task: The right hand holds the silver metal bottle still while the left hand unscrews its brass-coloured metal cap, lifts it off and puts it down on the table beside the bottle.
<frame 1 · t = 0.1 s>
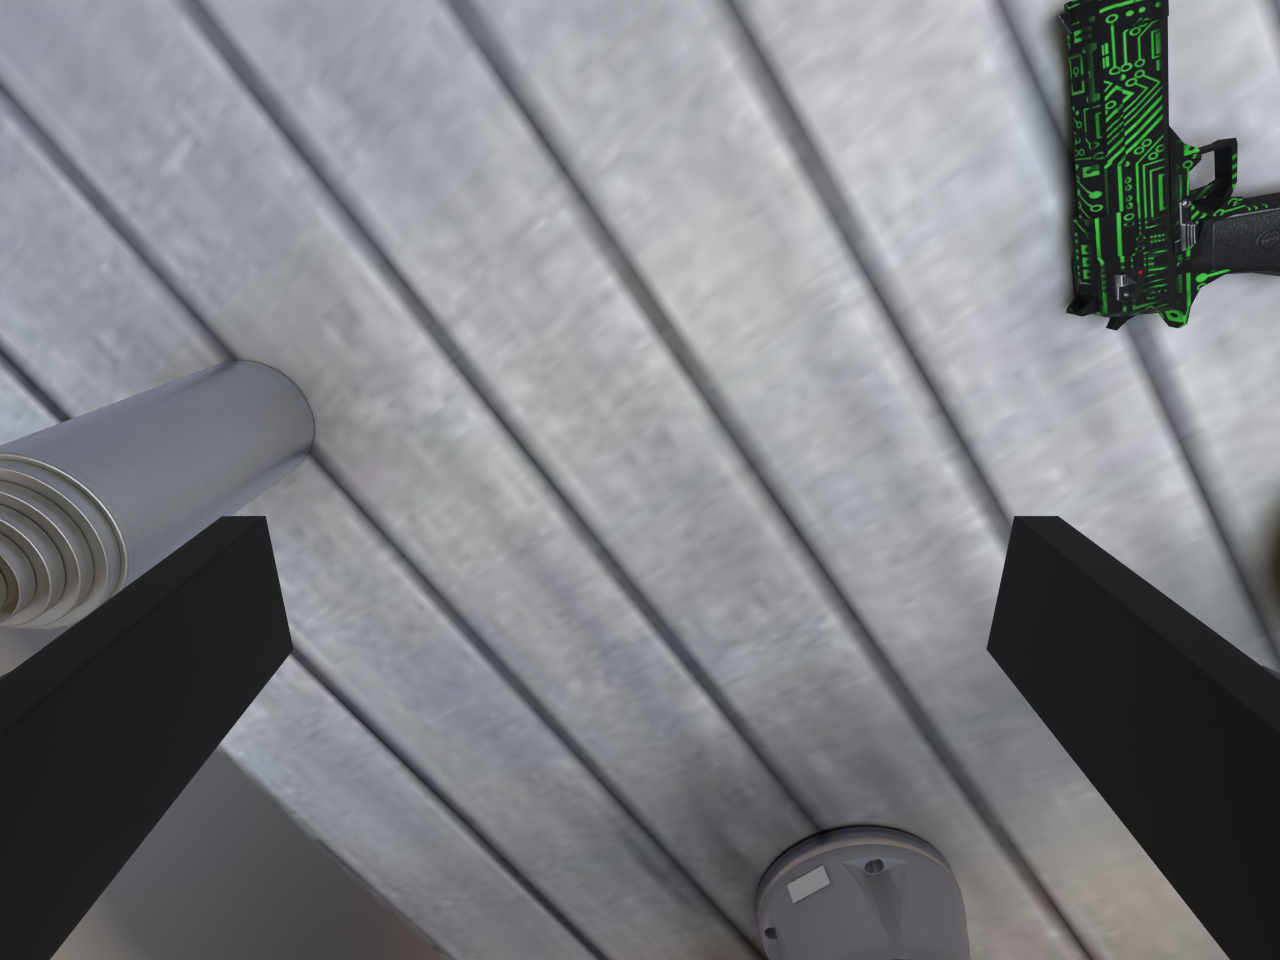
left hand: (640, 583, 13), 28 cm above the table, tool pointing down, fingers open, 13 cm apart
handgun: (1188, 160, 36), on the table
bottle: (253, 420, 41), on the table
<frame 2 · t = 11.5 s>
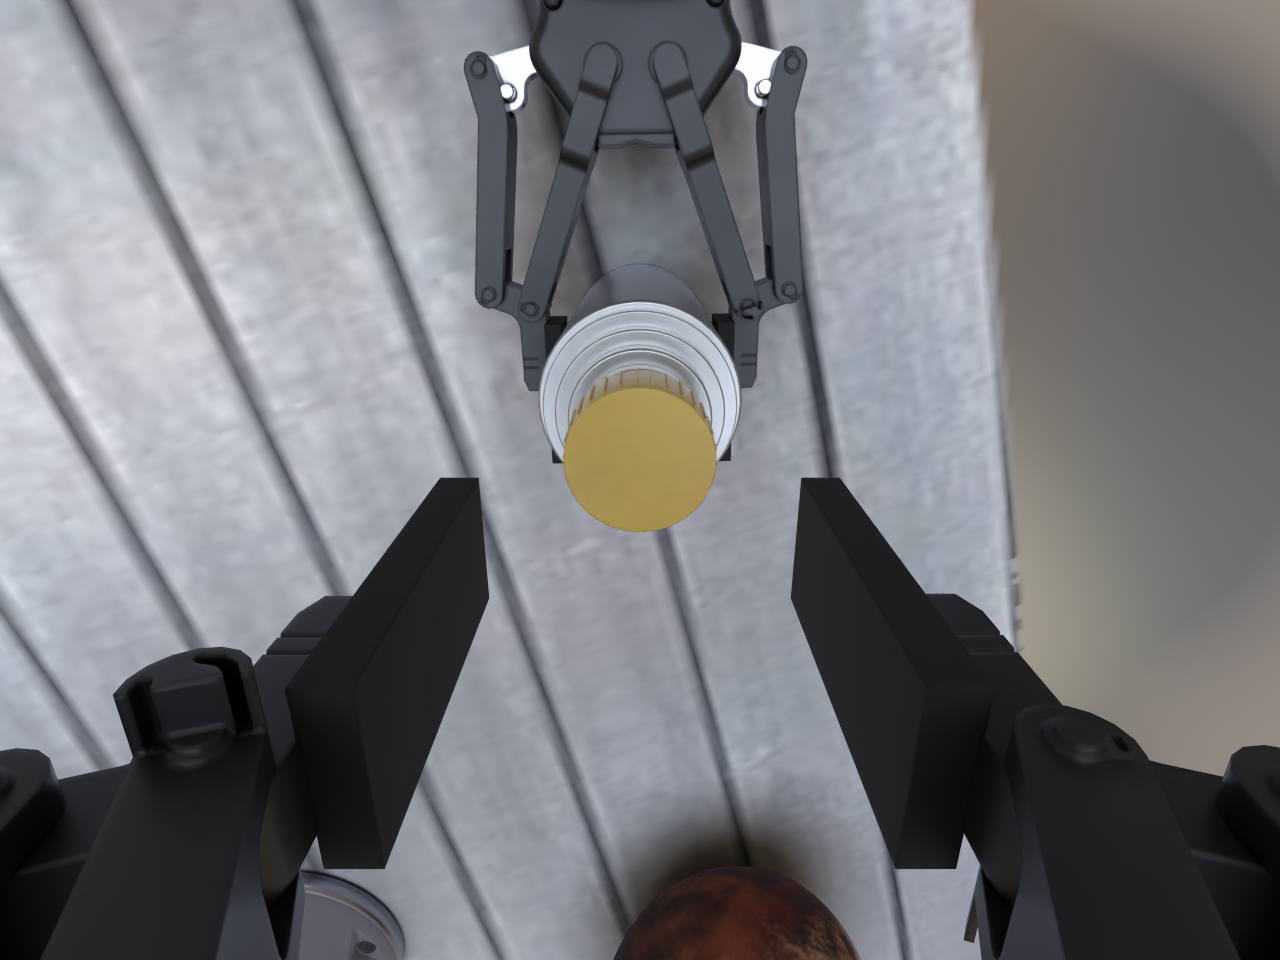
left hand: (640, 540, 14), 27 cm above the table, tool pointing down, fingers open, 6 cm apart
right hand: (641, 452, 35), fingers closed on bottle, 7 cm apart
bottle: (639, 329, 39), on the table, touching right hand
cap: (639, 459, 19), point 22 cm above the table, screwed on, not yet turned
cat face ball: (717, 907, 55), on the table
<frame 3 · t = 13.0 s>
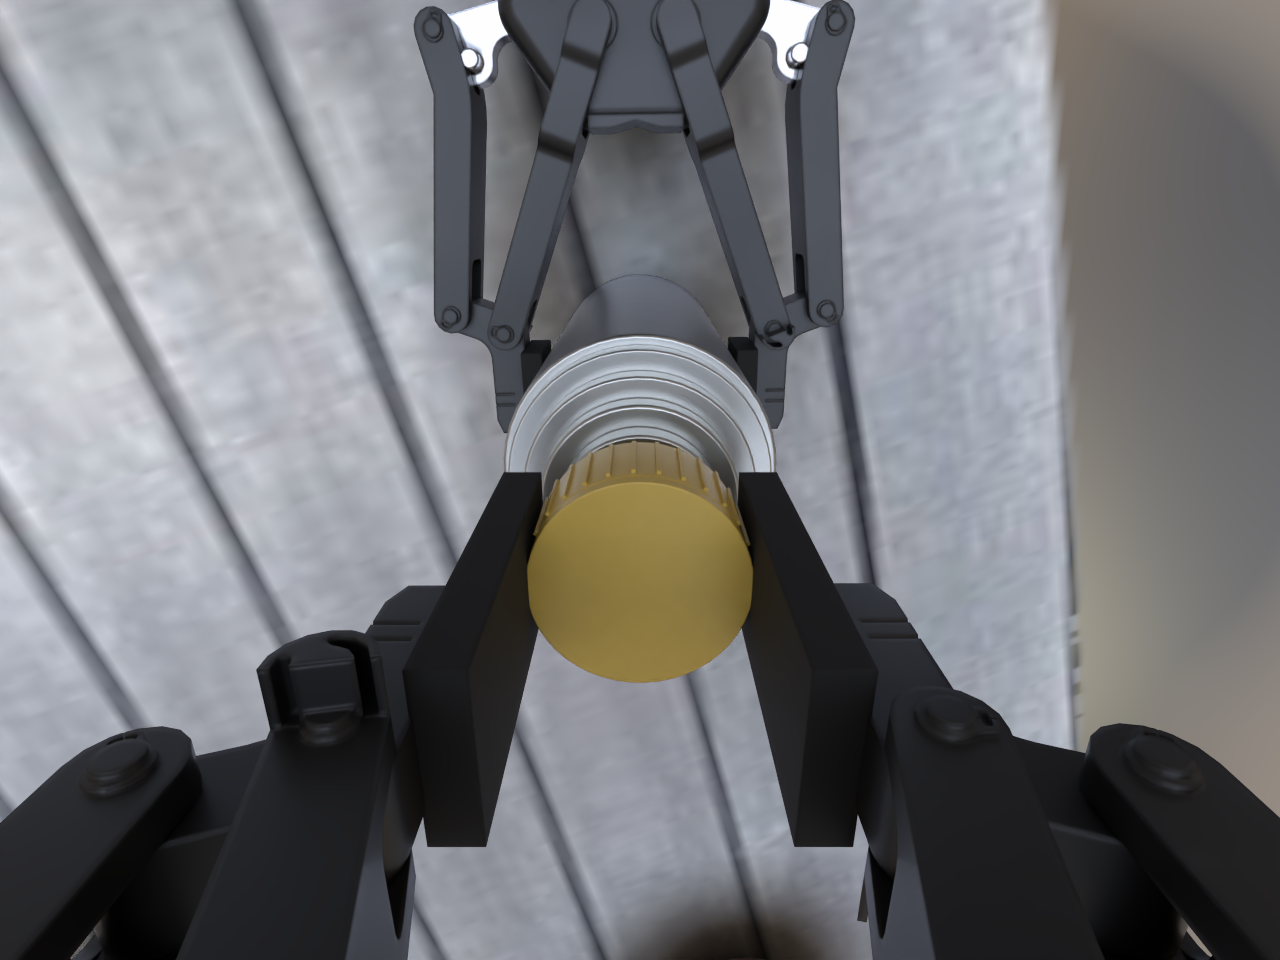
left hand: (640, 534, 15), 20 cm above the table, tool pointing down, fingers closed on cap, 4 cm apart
right hand: (641, 504, 29), fingers closed on bottle, 7 cm apart
bottle: (639, 351, 33), on the table, touching right hand
cap: (640, 580, 13), point 22 cm above the table, screwed on, not yet turned, touching left hand
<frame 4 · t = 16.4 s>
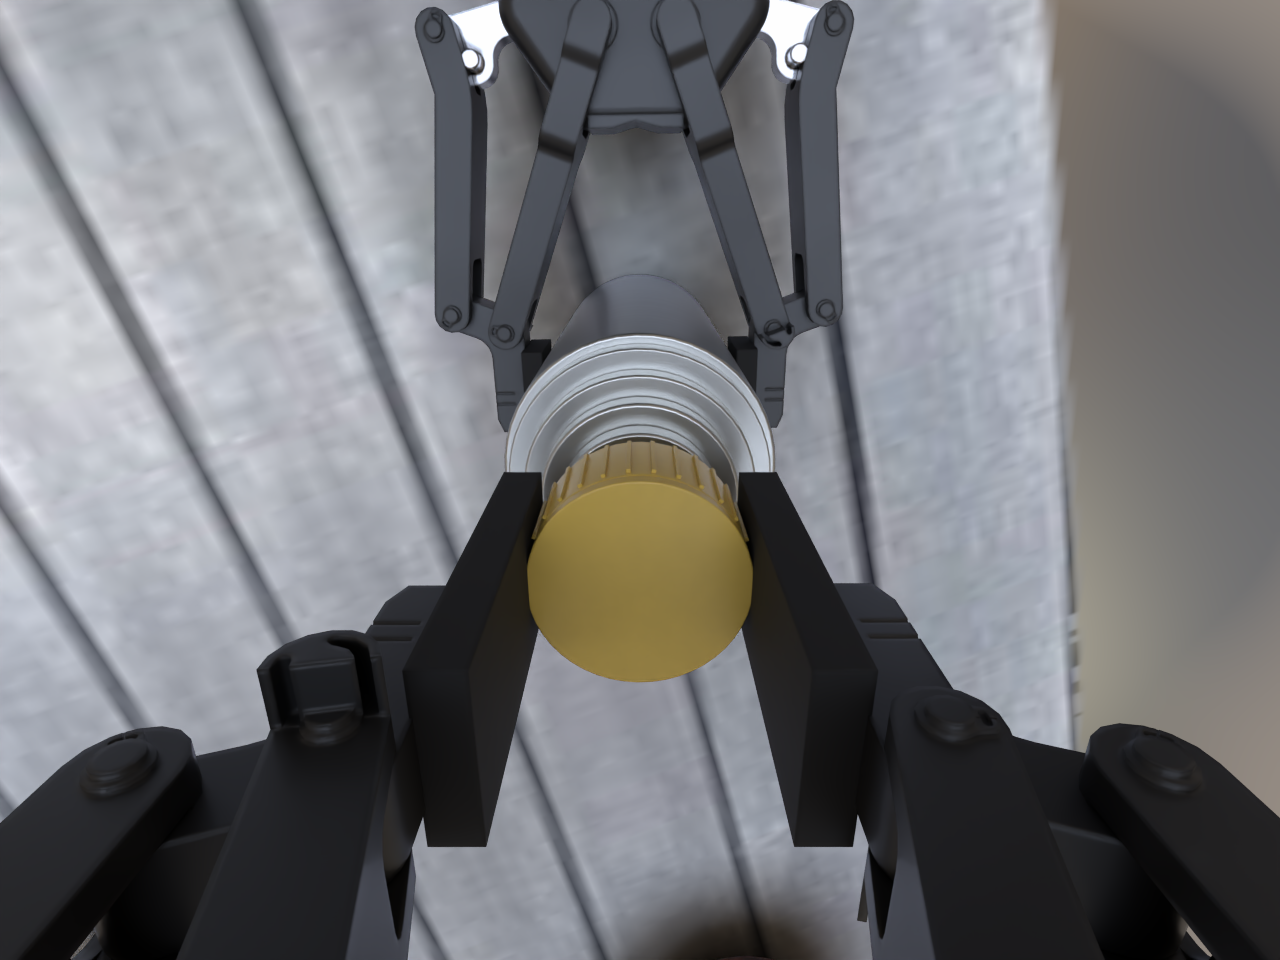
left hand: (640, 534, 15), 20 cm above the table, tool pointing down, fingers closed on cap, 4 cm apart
right hand: (641, 503, 29), fingers closed on bottle, 7 cm apart
bottle: (639, 351, 33), on the table, touching right hand
cap: (639, 579, 13), point 22 cm above the table, turned 102° so far, risen 0.1 cm, still on its thread, touching left hand
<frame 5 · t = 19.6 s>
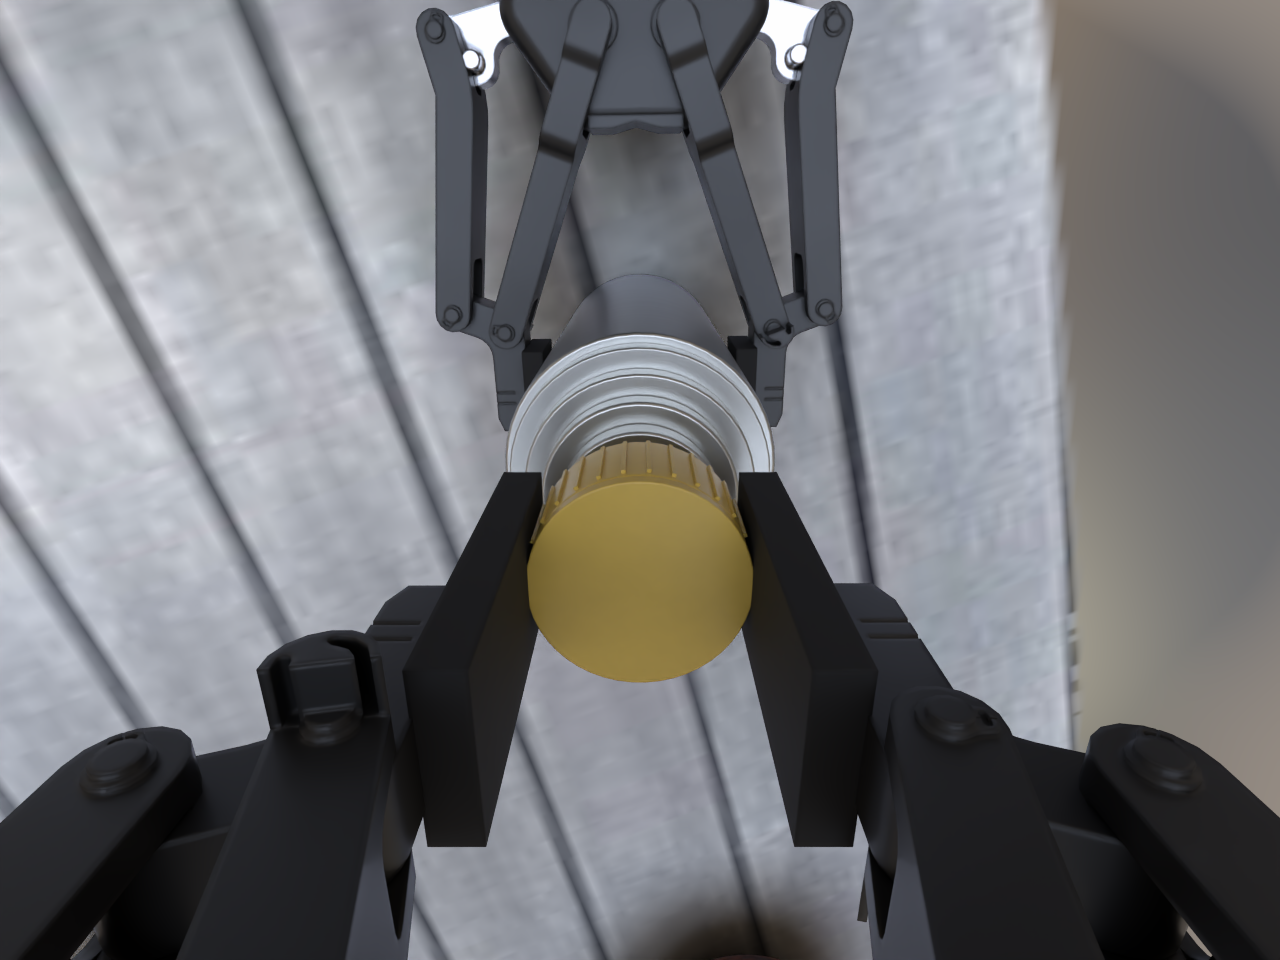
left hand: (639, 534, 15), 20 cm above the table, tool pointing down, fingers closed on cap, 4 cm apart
right hand: (641, 502, 29), fingers closed on bottle, 7 cm apart
bottle: (640, 351, 33), on the table, touching right hand
cap: (640, 579, 13), point 22 cm above the table, turned 203° so far, risen 0.2 cm, still on its thread, touching left hand
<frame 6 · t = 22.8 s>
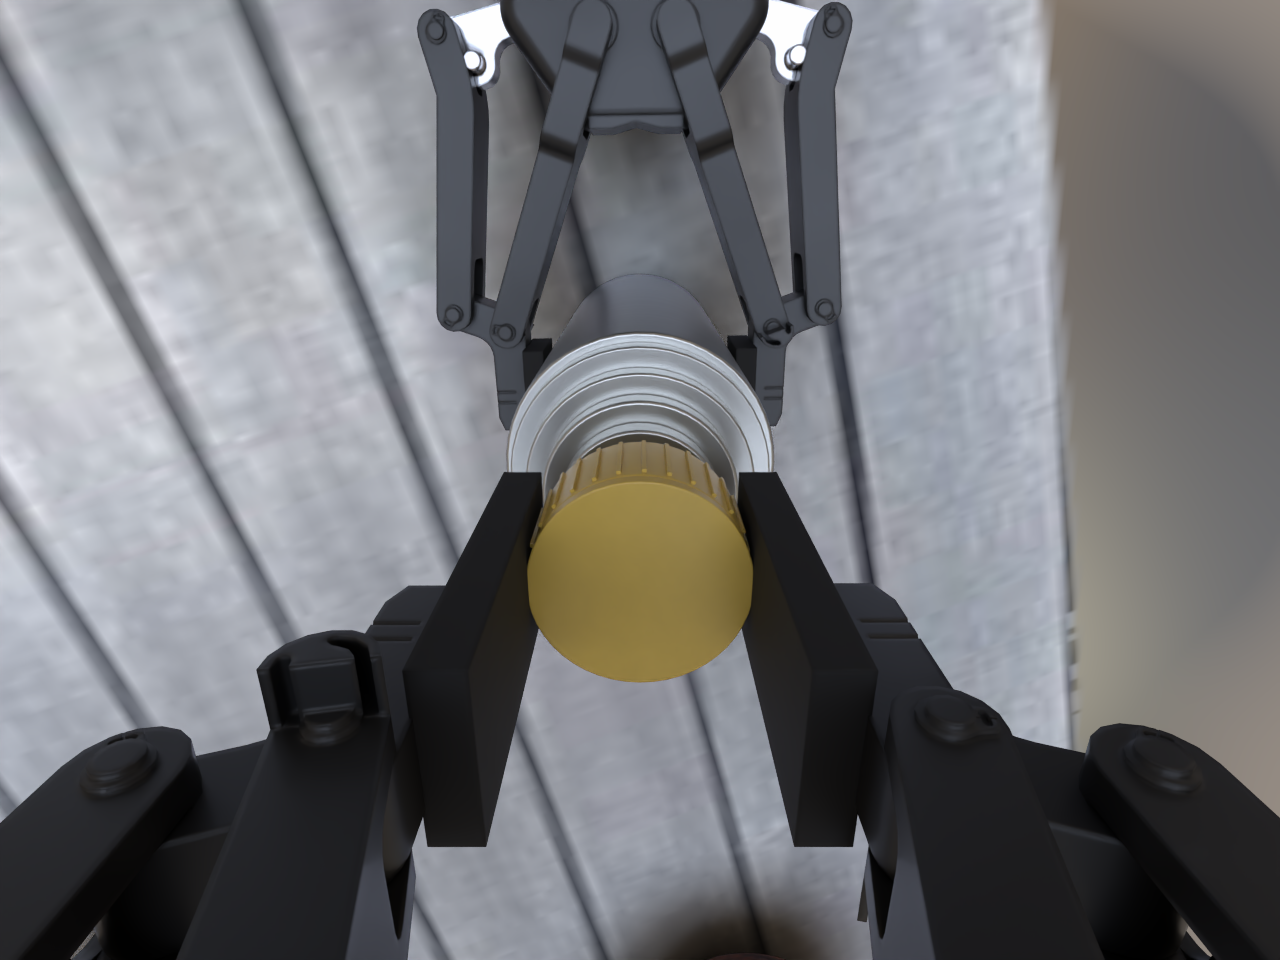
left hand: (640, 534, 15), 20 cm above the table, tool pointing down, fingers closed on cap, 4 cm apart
right hand: (642, 501, 29), fingers closed on bottle, 7 cm apart
bottle: (640, 350, 33), on the table, touching right hand
cap: (640, 579, 13), point 22 cm above the table, turned 305° so far, risen 0.3 cm, still on its thread, touching left hand
when the left hand's fingers open (1 cm above the table, at t = 29.0 s): cap drops 1 cm, point 2 cm above the table.
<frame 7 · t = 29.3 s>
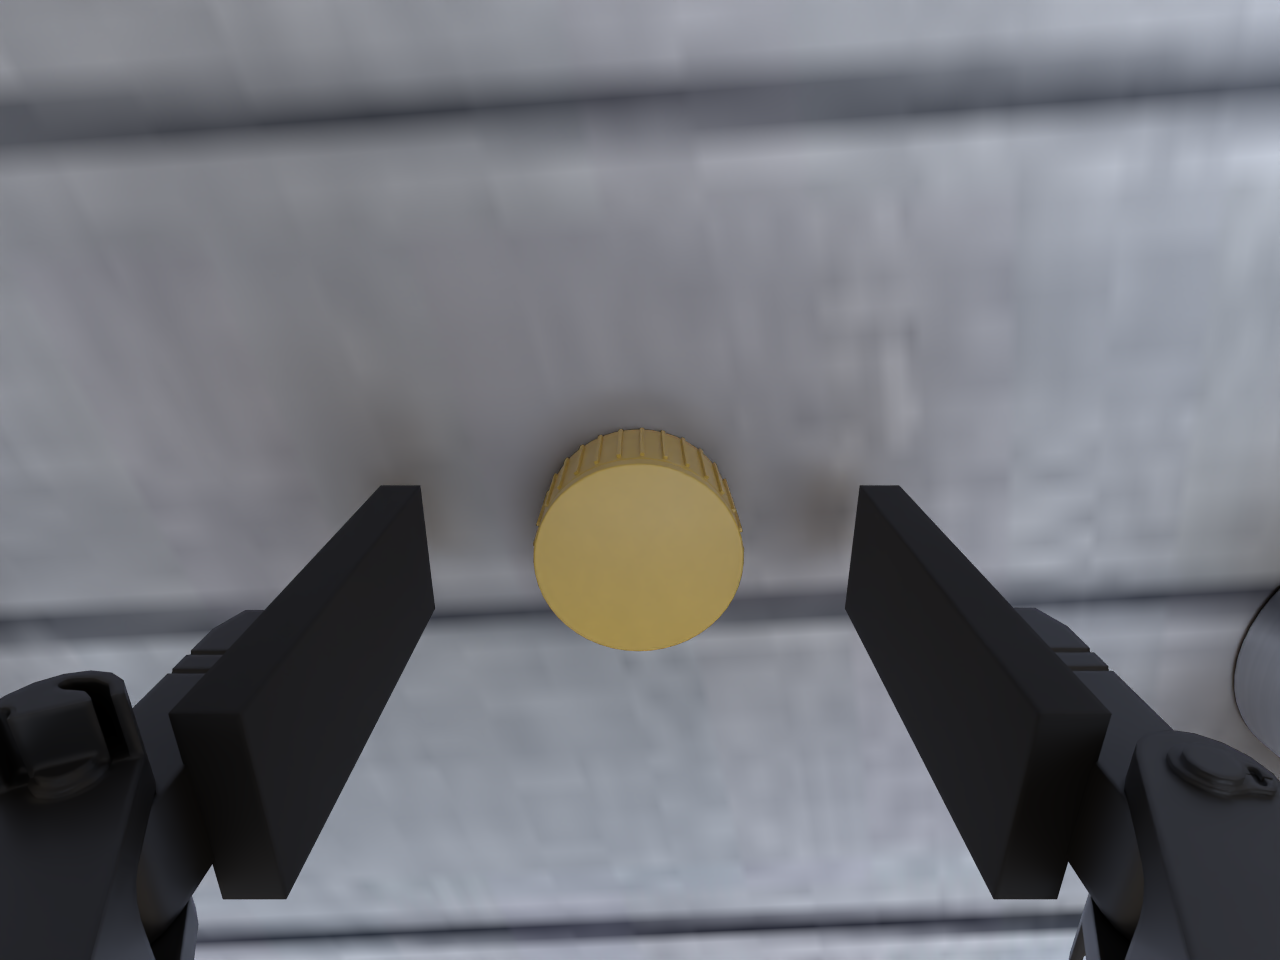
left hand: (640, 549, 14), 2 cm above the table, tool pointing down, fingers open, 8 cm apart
cap: (638, 555, 14), point 2 cm above the table, off its thread
when the right hand's fingers open (7 cm above the table, at t = 30.2 s): bottle stays where it is, on the table.
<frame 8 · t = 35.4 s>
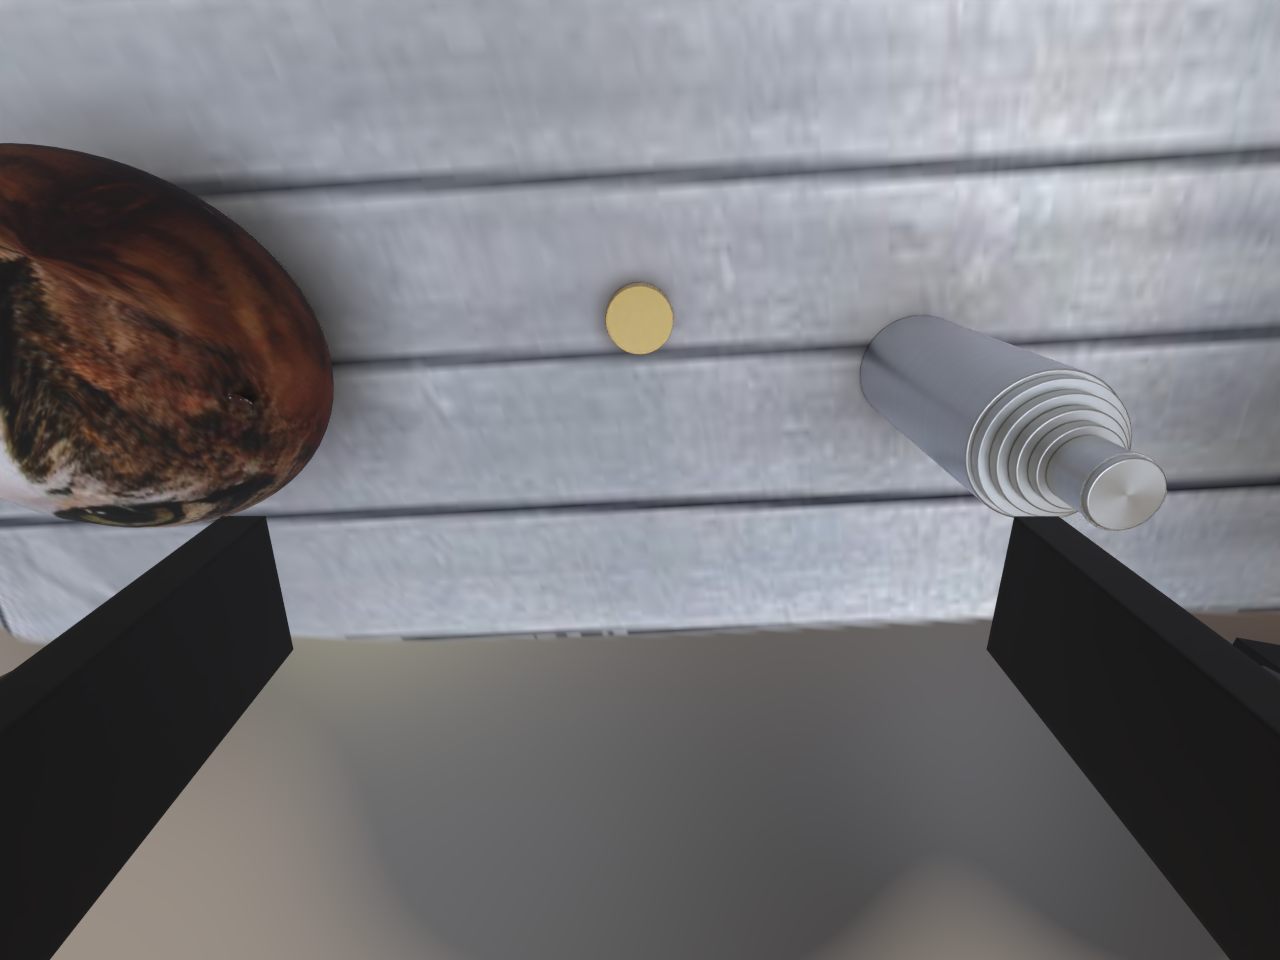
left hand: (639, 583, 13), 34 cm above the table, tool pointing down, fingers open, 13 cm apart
bottle: (913, 369, 46), on the table
cap: (639, 320, 43), point 2 cm above the table, off its thread
cat face ball: (208, 319, 45), on the table
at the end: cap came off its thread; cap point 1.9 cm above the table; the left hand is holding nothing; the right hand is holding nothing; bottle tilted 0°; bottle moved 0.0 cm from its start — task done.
